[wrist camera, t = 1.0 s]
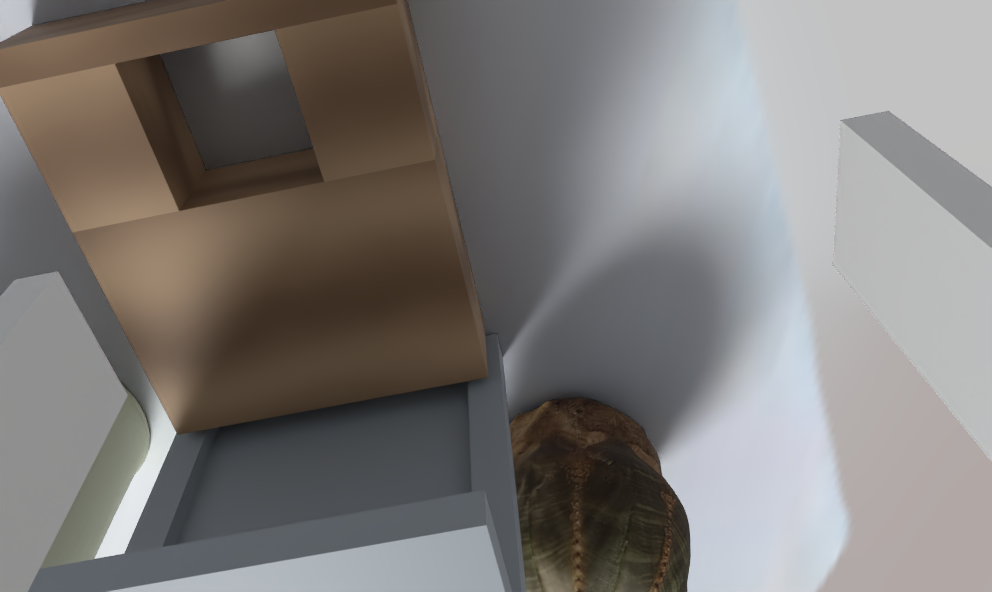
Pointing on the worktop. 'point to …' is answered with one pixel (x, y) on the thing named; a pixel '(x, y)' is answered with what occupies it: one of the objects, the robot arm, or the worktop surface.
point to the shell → (595, 503)
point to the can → (102, 488)
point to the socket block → (257, 208)
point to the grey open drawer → (332, 502)
